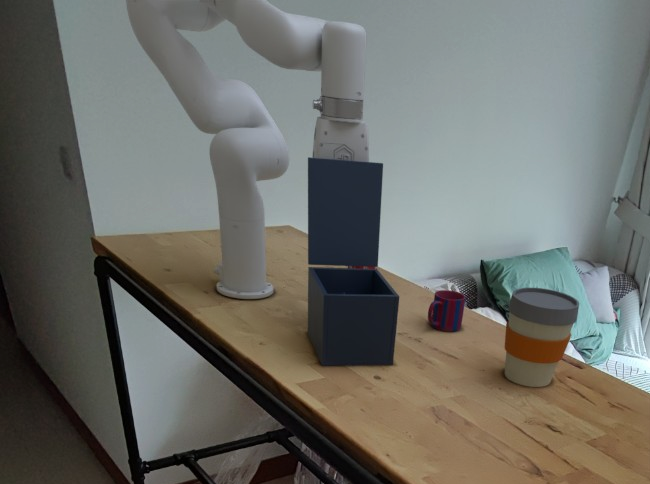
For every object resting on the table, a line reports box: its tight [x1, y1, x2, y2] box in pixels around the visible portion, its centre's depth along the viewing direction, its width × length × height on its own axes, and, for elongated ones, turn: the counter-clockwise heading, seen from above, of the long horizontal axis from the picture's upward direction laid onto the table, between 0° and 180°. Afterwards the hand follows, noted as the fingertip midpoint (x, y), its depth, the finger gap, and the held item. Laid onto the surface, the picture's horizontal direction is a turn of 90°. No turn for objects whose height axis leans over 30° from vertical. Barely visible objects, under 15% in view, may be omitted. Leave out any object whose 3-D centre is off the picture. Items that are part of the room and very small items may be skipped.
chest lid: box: [307, 157, 384, 268], centre depth 120 cm, size 18×14×1 cm
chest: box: [307, 266, 400, 367], centre depth 123 cm, size 17×14×13 cm
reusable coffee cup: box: [504, 287, 580, 388], centre depth 120 cm, size 13×12×15 cm
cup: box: [427, 289, 467, 333], centre depth 139 cm, size 7×10×7 cm
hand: (338, 222), depth 126 cm, fingers closed
